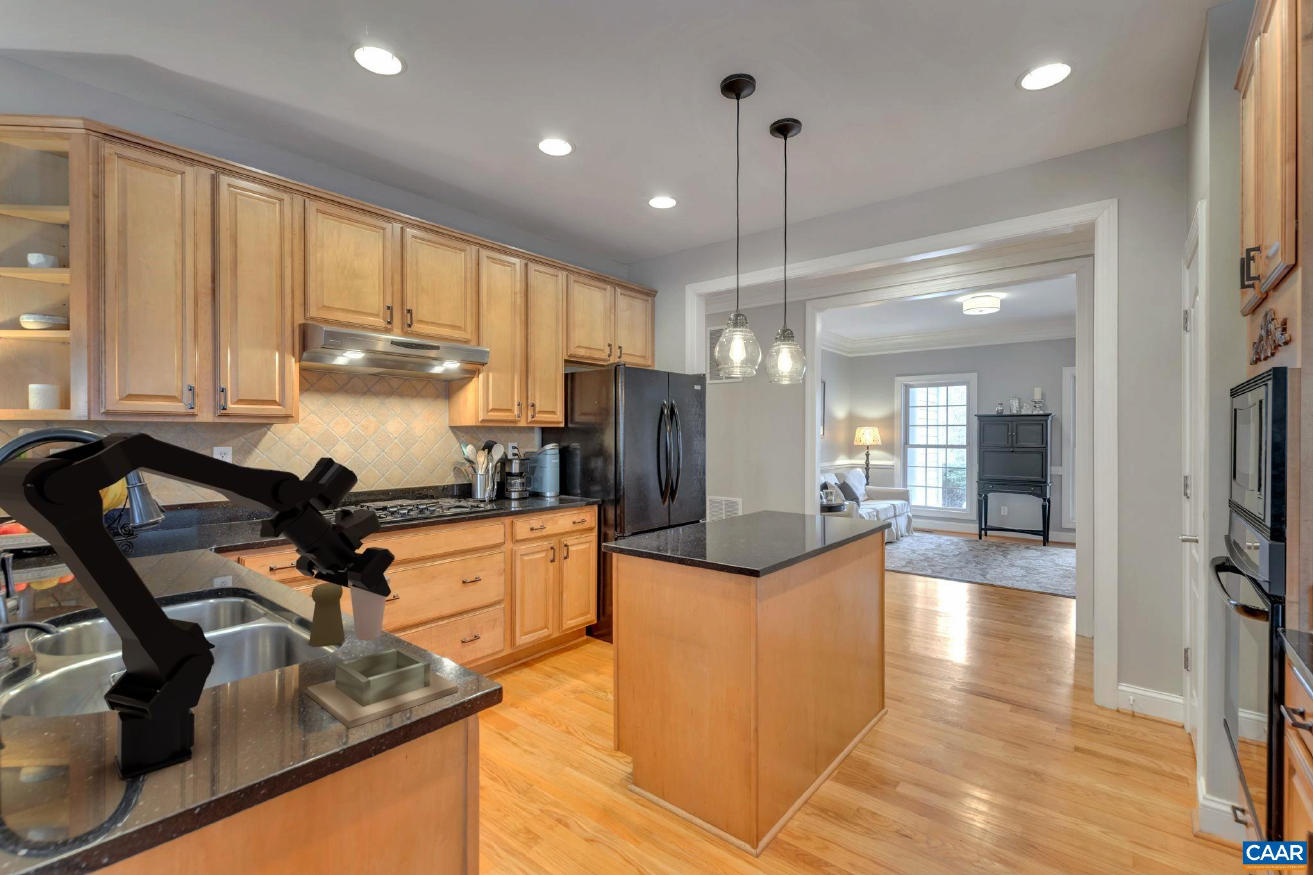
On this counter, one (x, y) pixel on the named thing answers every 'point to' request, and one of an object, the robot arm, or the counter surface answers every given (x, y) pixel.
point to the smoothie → (367, 612)
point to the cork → (327, 616)
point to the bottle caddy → (379, 687)
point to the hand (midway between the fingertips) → (376, 591)
